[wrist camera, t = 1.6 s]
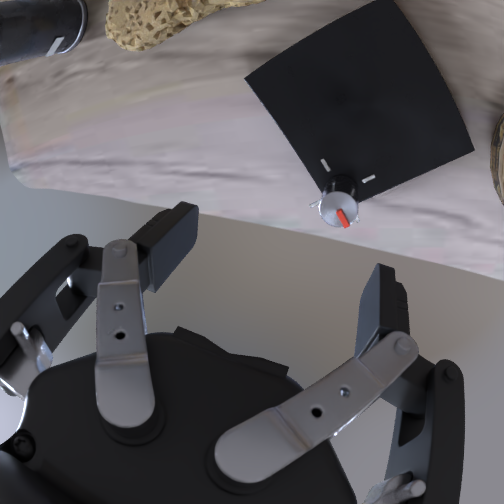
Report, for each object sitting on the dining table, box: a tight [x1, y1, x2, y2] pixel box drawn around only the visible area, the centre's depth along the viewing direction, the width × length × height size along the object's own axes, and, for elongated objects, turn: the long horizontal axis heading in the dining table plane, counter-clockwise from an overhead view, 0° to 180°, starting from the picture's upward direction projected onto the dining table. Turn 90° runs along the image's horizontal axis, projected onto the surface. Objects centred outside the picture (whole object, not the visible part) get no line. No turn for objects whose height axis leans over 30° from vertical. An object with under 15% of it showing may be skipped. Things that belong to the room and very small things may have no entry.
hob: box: [244, 0, 475, 223], centre depth 27 cm, size 19×19×3 cm
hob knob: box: [319, 175, 359, 228], centre depth 29 cm, size 4×4×5 cm
